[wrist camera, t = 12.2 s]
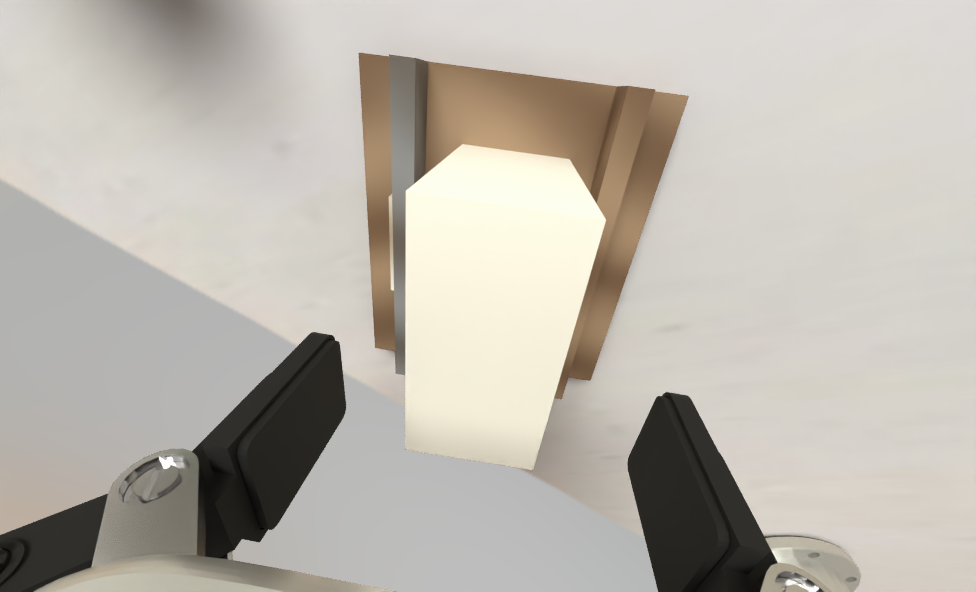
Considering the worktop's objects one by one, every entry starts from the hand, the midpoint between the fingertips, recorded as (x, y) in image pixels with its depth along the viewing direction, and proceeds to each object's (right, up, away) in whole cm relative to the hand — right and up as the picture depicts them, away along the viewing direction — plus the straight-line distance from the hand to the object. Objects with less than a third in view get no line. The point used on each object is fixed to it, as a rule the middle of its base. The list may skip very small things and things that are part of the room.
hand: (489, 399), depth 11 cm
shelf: (+1, +6, +10) cm, 12 cm away
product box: (+1, +6, +9) cm, 10 cm away
